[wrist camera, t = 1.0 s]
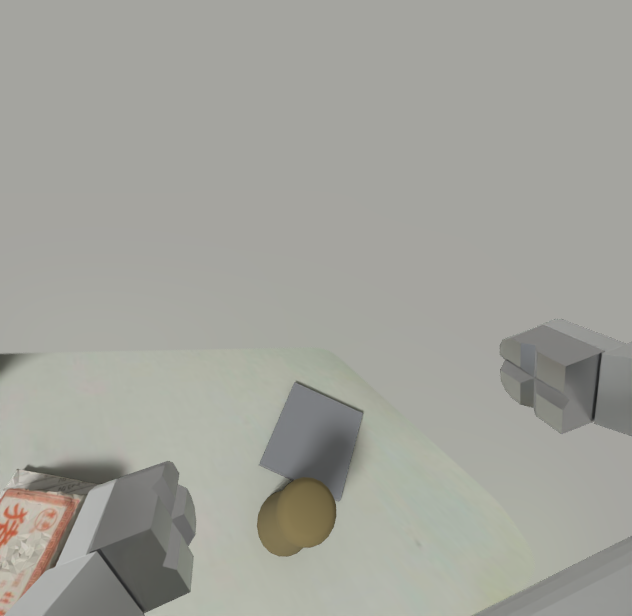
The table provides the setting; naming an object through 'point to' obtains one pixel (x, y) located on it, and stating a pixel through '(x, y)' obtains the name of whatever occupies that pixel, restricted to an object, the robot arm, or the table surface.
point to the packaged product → (34, 528)
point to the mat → (313, 439)
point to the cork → (296, 517)
